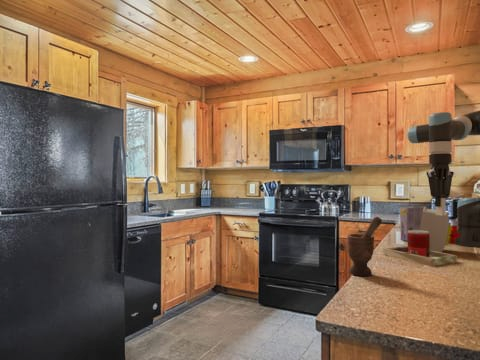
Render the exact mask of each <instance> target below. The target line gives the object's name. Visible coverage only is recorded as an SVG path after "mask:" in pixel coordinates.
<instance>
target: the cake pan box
mask: <svg viewBox="0 0 480 360" xmlns="http://www.w3.org/2000/svg"><path fill="white" fill-rule="evenodd" d="M424 207H426V209H428V208H427V206H405V207H404V206H403V207H401V206H400V207H399V215H400V218H399V219H400V221H399V222H400V224H399V226H400V228H399V229H400V230H399V231H400V241H405V242H408V239H407V234H408V230H420V224H421V218H422V212H423V209H424Z"/></svg>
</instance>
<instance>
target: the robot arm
mask: <svg viewBox="0 0 480 360" xmlns="http://www.w3.org/2000/svg"><path fill="white" fill-rule="evenodd" d="M469 136H480V110H476V111H473V112H468V113H465V114H463V115H458V116H455V117H454V118H453V117H452V113H451V112H446V111H442V112H435V113H431V114H430V115H428V123H425V124H422V125H421V124H420V125H415V126H410V127H409V128H408V129H407V140H408V141H409V142H410V143H411V144H423V143H428V148H429V149H428V153H429V155H428V163H429V165H431V167H430V170H429V171H426V176H427V179H428V185H429V192H430V196H431V197H432V199H434V205H435V210H436V215H442V216H443V215H445V212H446V199H449V196H451V187H452V181H453V176H454V174H455V173H454V171H451V170H450V167H449V166H450V165H449V164H451V163H452V161H453V160H452V157H453V156H452V154H451V153H452V152H453V149H452V148H453V146H452V145H453V144H452V141H462V140H464V139H466V138H467V137H469ZM456 206H457V207H456V209H457V214H456V215H457V218H456V219H457V232H458V233H459V238H456V237H455V243H454V245H458V246H459V245H460V246H464V247H473V248H474V247H476V248H480V196H479V197H466V198H459V199H458V200H457V205H456Z"/></svg>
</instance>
